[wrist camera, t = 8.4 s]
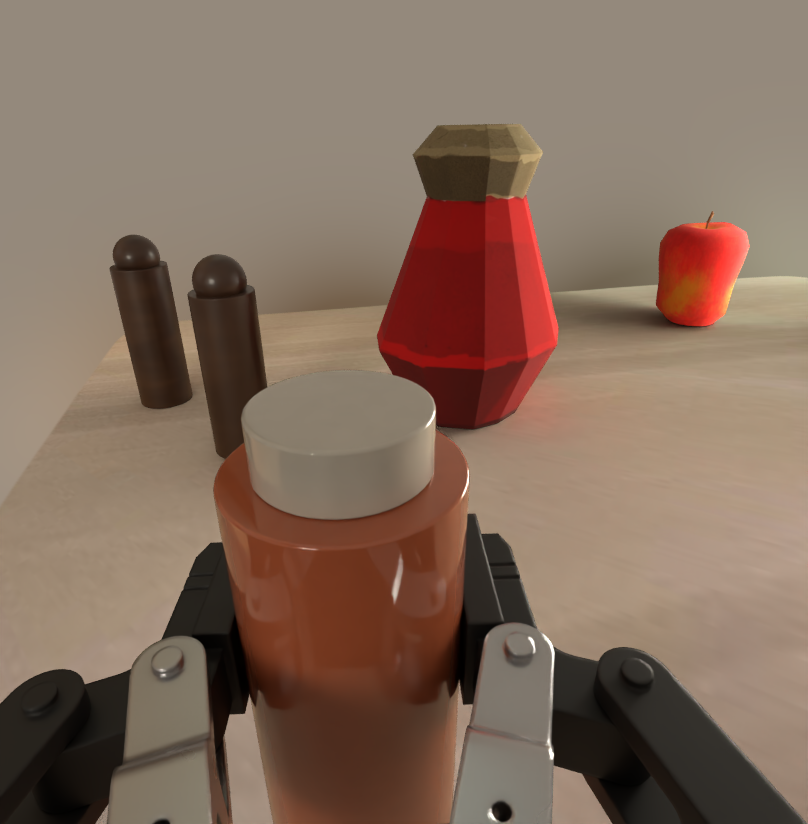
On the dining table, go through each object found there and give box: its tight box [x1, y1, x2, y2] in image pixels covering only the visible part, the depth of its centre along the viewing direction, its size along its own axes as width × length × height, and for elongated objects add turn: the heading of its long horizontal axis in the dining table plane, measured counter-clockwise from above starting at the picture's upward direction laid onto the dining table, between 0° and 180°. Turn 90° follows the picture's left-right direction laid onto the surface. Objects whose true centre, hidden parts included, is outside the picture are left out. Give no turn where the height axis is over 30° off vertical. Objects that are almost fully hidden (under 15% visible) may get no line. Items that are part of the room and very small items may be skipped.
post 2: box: [188, 254, 267, 459], centre depth 37 cm, size 4×4×13 cm
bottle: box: [377, 124, 559, 429], centre depth 42 cm, size 16×14×20 cm
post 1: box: [110, 235, 192, 408], centre depth 45 cm, size 4×4×13 cm
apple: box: [656, 211, 749, 326], centre depth 62 cm, size 9×8×12 cm
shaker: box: [213, 370, 470, 824], centre depth 12 cm, size 4×4×11 cm
